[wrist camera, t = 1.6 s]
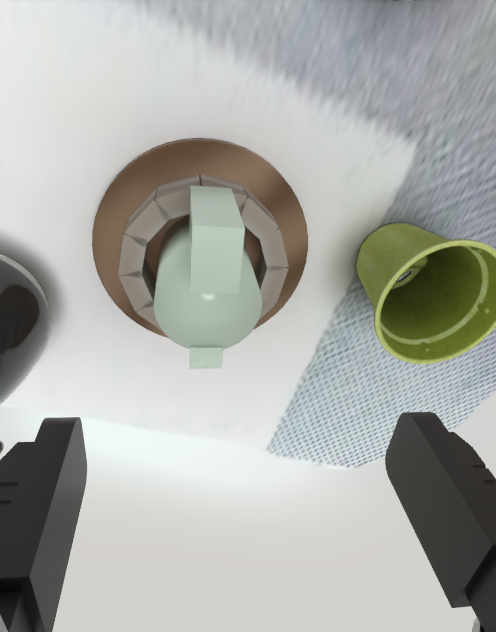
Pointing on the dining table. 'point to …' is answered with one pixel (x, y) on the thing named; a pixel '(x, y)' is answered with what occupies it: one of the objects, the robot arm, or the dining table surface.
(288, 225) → the stone ring brown dish
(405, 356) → the plant pot
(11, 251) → the dining table surface
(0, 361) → the dark rounded figure
